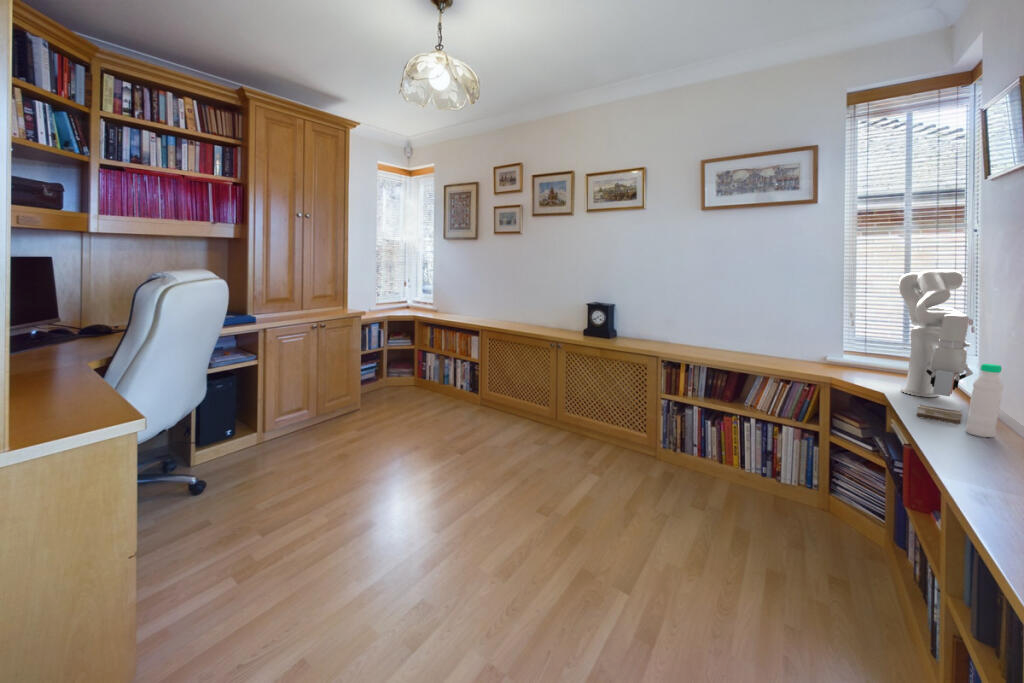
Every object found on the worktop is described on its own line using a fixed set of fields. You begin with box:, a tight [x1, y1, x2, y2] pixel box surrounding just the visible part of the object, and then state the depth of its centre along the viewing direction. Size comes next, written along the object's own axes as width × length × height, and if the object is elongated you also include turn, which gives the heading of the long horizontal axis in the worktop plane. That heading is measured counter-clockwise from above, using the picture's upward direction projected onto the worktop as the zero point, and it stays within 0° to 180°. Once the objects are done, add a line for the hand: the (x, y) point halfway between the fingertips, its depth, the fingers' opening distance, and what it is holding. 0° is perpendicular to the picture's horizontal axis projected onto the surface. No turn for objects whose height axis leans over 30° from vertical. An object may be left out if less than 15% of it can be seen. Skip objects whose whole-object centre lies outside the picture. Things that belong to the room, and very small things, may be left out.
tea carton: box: [933, 370, 955, 397], centre depth 179 cm, size 5×7×10 cm
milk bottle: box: [965, 363, 1004, 438], centre depth 151 cm, size 7×7×25 cm
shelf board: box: [916, 404, 963, 425], centre depth 171 cm, size 14×12×4 cm
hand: (943, 387), depth 180 cm, fingers closed on tea carton, 5 cm apart
